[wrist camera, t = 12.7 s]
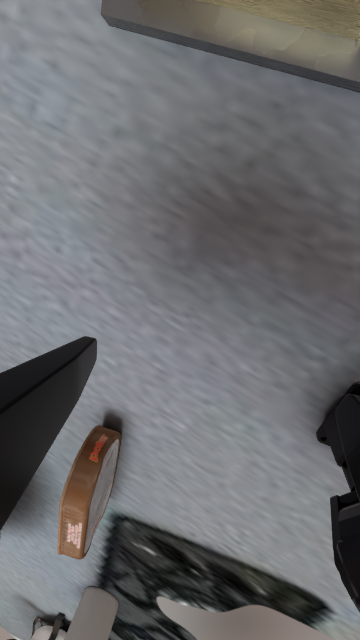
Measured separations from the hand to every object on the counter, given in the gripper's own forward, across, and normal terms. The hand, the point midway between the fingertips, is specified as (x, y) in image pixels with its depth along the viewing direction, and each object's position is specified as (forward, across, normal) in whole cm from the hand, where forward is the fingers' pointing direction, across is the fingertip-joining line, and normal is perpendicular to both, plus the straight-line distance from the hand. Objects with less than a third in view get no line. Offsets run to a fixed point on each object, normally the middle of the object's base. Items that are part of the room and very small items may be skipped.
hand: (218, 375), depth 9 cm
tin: (+12, +7, +26) cm, 29 cm away
